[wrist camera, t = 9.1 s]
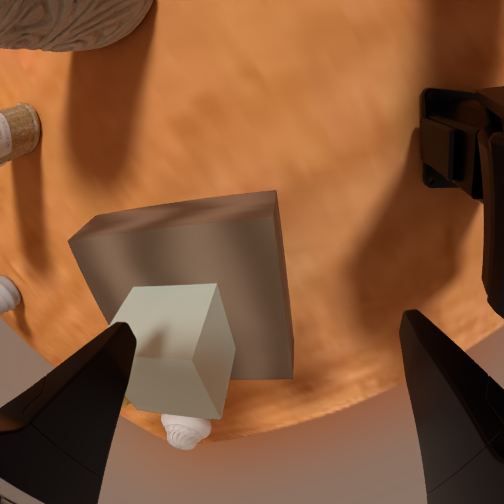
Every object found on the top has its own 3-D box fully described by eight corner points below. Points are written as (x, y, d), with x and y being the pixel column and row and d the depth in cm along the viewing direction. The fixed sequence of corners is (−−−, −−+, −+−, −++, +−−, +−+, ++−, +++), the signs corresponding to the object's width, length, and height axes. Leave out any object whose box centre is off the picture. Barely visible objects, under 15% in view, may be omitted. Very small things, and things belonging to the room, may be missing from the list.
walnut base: (276, 190, 19) (272, 216, 16) (293, 342, 26) (292, 378, 23) (95, 215, 22) (67, 241, 18) (151, 342, 29) (138, 373, 25)
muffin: (226, 408, 34) (217, 457, 28) (191, 415, 36) (180, 459, 31) (193, 383, 32) (177, 436, 26) (158, 391, 34) (142, 438, 28)
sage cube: (216, 283, 19) (191, 360, 13) (235, 348, 22) (221, 419, 16) (133, 286, 20) (93, 352, 15) (162, 347, 23) (136, 409, 18)
